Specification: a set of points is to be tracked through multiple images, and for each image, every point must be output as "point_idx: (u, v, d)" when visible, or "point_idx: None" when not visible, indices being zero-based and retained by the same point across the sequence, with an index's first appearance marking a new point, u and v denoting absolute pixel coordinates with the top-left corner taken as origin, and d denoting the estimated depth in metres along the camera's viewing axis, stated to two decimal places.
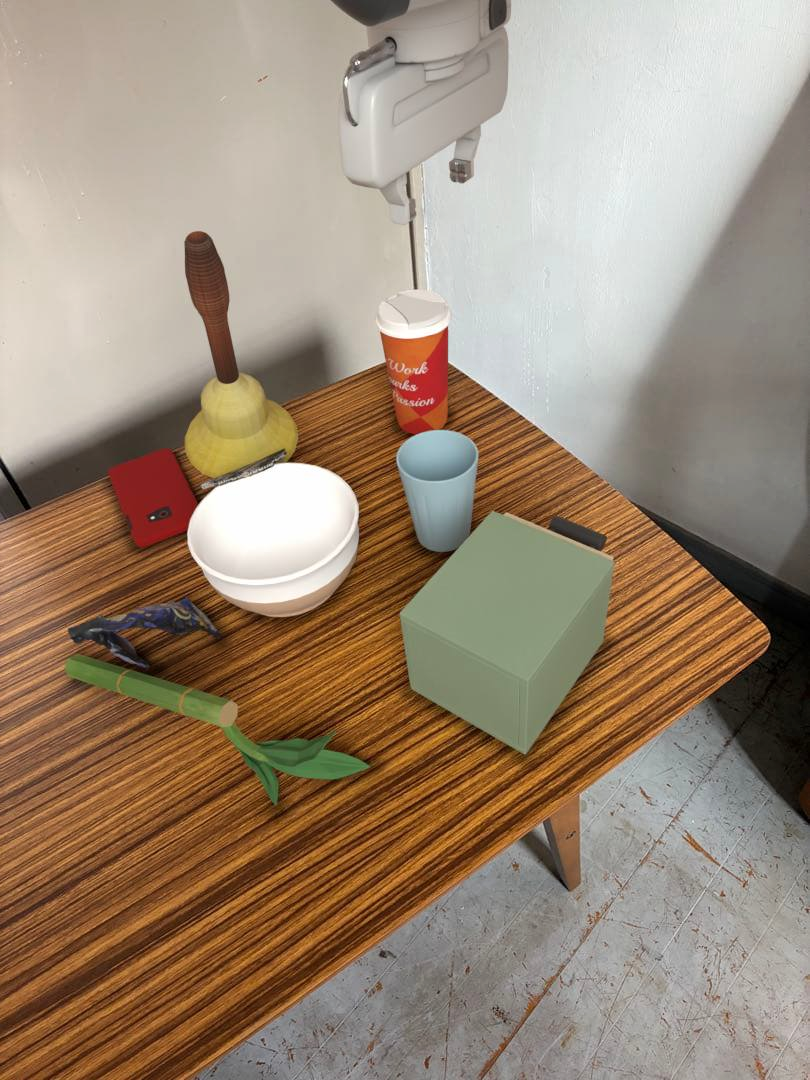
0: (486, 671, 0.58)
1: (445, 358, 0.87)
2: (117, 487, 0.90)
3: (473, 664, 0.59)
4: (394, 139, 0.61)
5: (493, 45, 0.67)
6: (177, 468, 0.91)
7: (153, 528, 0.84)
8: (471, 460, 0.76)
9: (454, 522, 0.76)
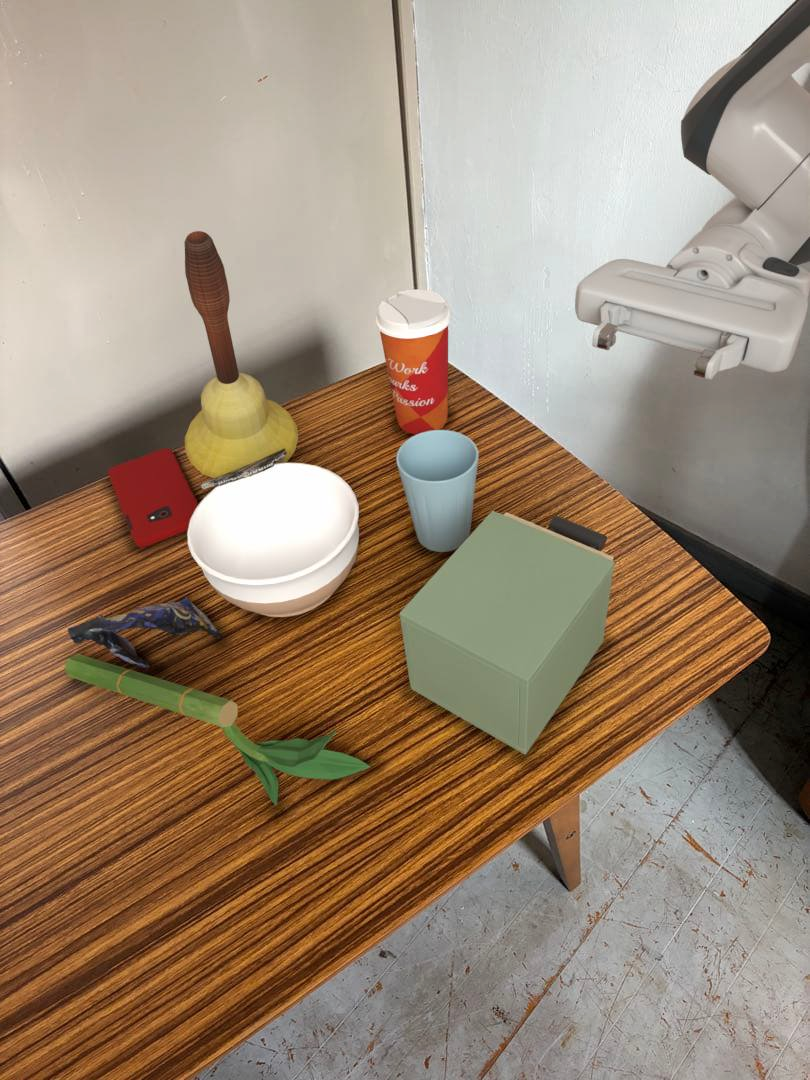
0: (486, 671, 0.58)
1: (445, 358, 0.87)
2: (117, 487, 0.90)
3: (473, 664, 0.59)
4: (615, 278, 0.75)
5: (781, 296, 0.69)
6: (177, 468, 0.91)
7: (153, 528, 0.84)
8: (471, 460, 0.76)
9: (454, 522, 0.76)
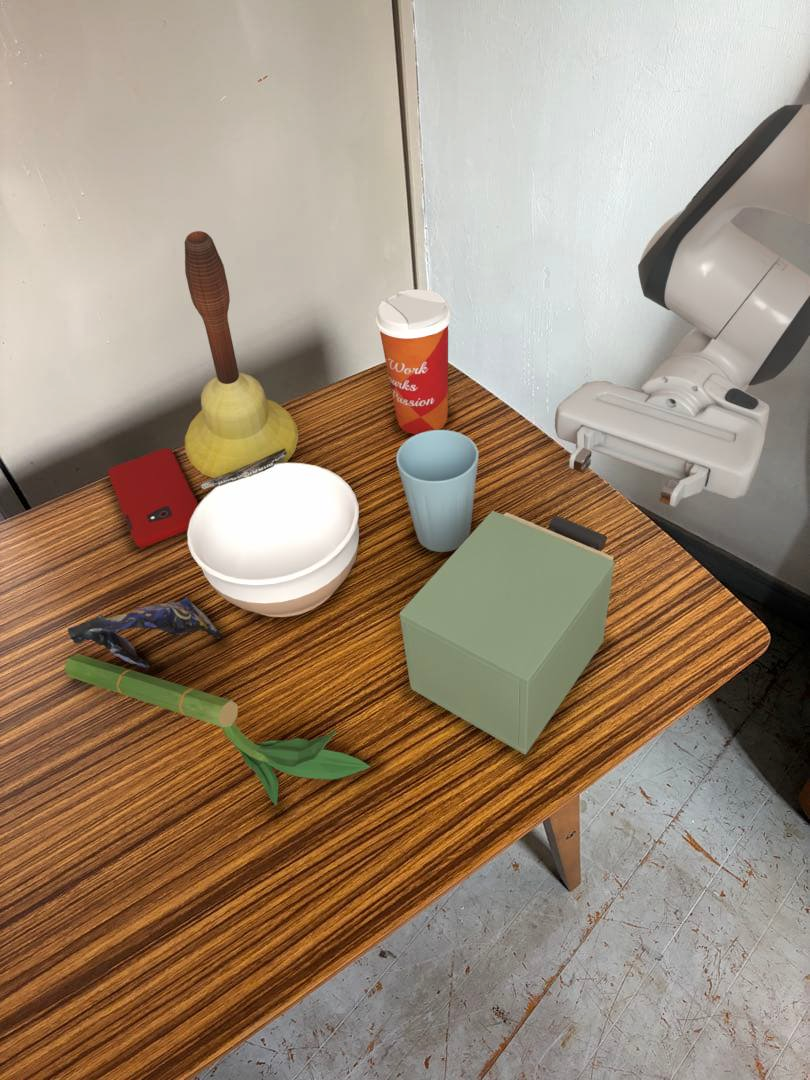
0: (486, 671, 0.58)
1: (445, 358, 0.87)
2: (117, 487, 0.90)
3: (473, 664, 0.59)
4: (591, 401, 0.82)
5: (741, 427, 0.76)
6: (177, 468, 0.91)
7: (153, 528, 0.84)
8: (471, 460, 0.76)
9: (454, 522, 0.76)
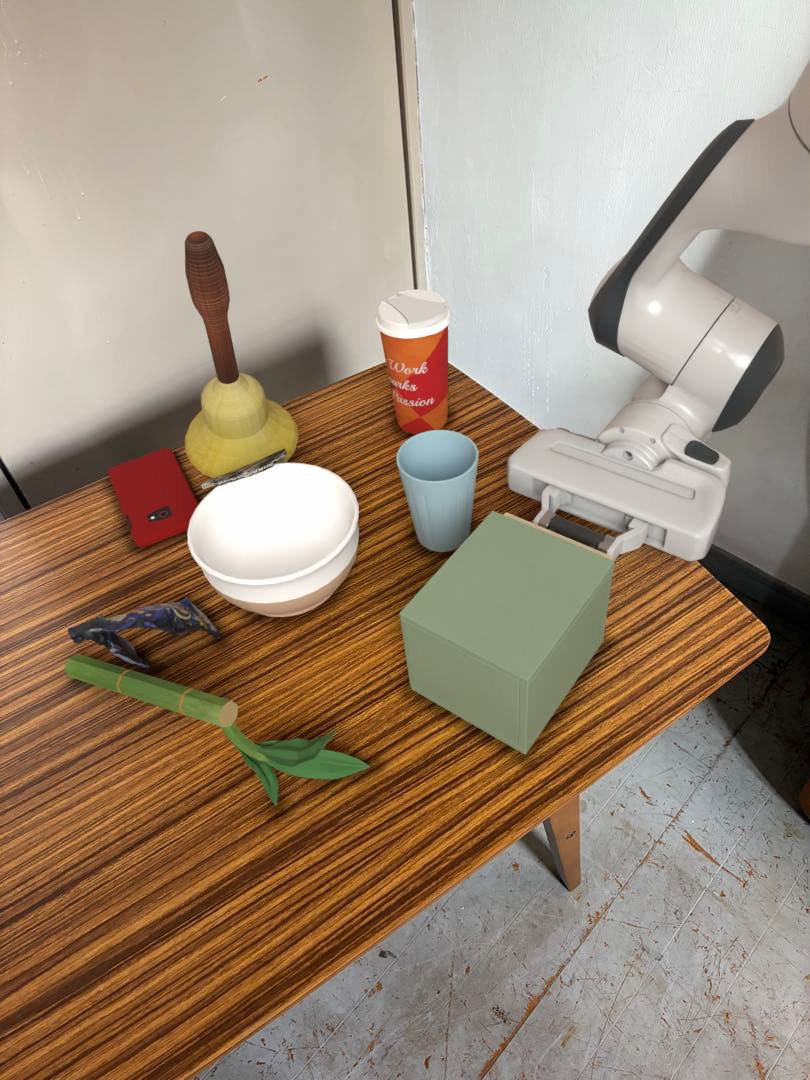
0: (486, 671, 0.58)
1: (445, 358, 0.87)
2: (117, 487, 0.90)
3: (473, 664, 0.59)
4: (544, 452, 0.77)
5: (700, 484, 0.71)
6: (177, 468, 0.91)
7: (153, 528, 0.84)
8: (471, 460, 0.76)
9: (454, 522, 0.76)
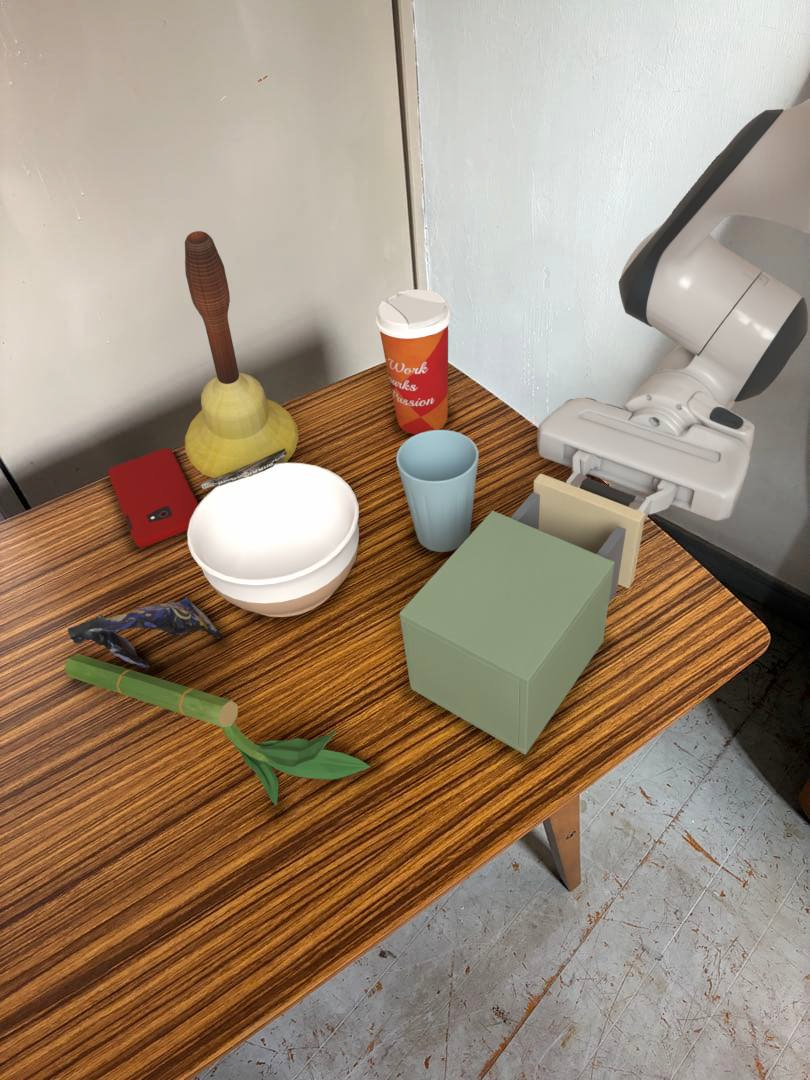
0: (486, 671, 0.58)
1: (445, 358, 0.87)
2: (117, 487, 0.90)
3: (473, 664, 0.59)
4: (574, 420, 0.80)
5: (725, 447, 0.74)
6: (177, 468, 0.91)
7: (153, 528, 0.84)
8: (471, 460, 0.76)
9: (454, 522, 0.76)
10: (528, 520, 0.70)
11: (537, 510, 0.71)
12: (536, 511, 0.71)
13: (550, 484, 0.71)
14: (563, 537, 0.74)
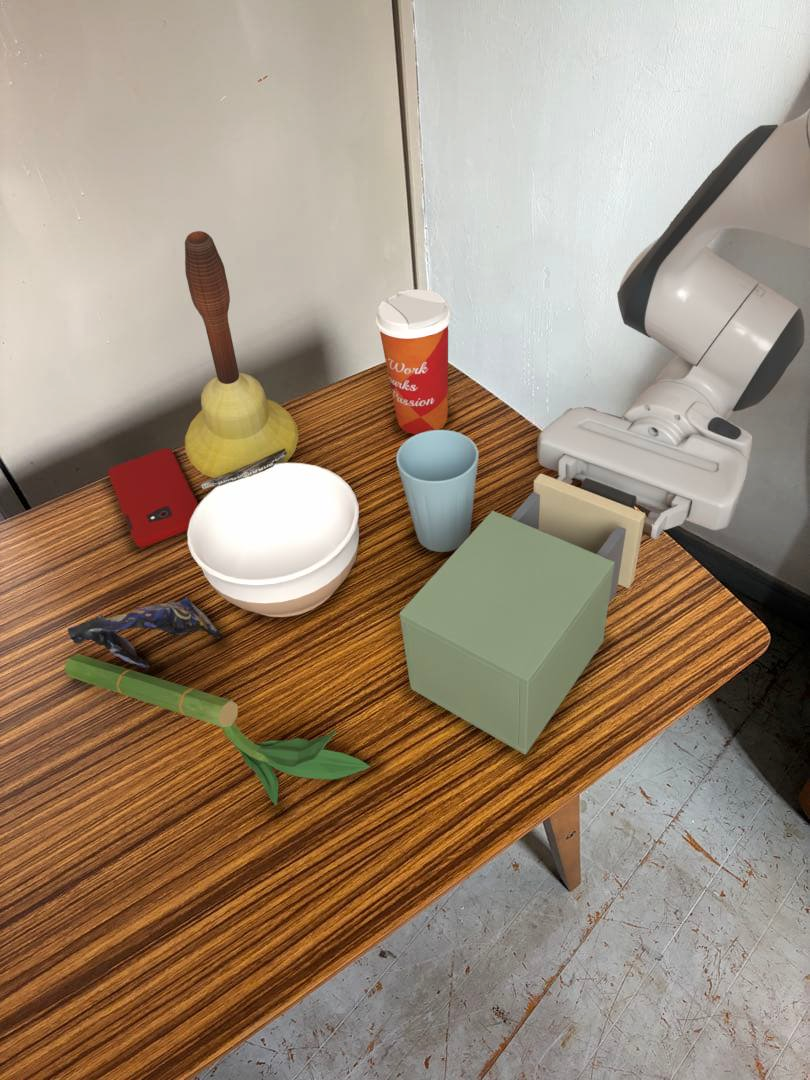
0: (486, 671, 0.58)
1: (445, 358, 0.87)
2: (117, 487, 0.90)
3: (473, 664, 0.59)
4: (573, 429, 0.81)
5: (723, 457, 0.75)
6: (177, 468, 0.91)
7: (153, 528, 0.84)
8: (471, 460, 0.76)
9: (454, 522, 0.76)
10: (528, 520, 0.70)
11: (537, 510, 0.71)
12: (536, 511, 0.71)
13: (550, 484, 0.71)
14: (563, 537, 0.74)
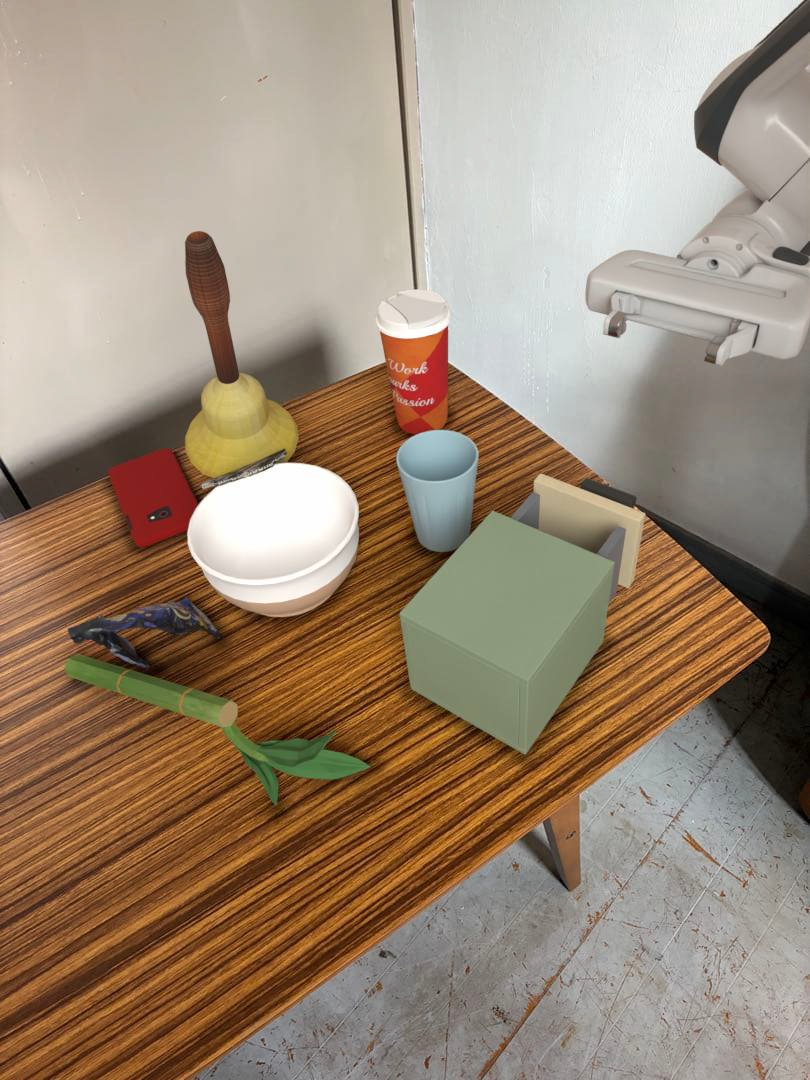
0: (486, 671, 0.58)
1: (445, 358, 0.87)
2: (117, 487, 0.90)
3: (473, 664, 0.59)
4: (625, 268, 0.75)
5: (791, 284, 0.70)
6: (177, 468, 0.91)
7: (153, 528, 0.84)
8: (471, 460, 0.76)
9: (454, 522, 0.76)
10: (528, 520, 0.70)
11: (537, 510, 0.71)
12: (536, 511, 0.71)
13: (550, 484, 0.71)
14: (563, 537, 0.74)
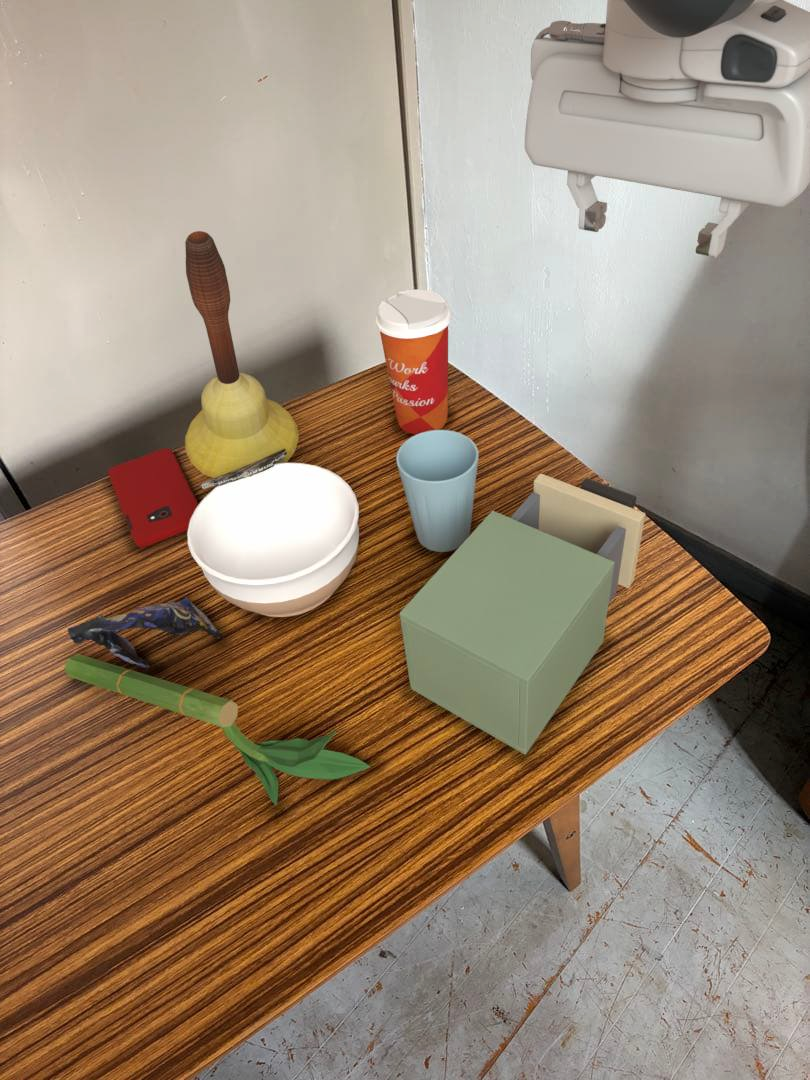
0: (486, 671, 0.58)
1: (445, 358, 0.87)
2: (117, 487, 0.90)
3: (473, 664, 0.59)
4: (556, 125, 0.57)
5: (765, 108, 0.48)
6: (177, 468, 0.91)
7: (153, 528, 0.84)
8: (471, 460, 0.76)
9: (454, 522, 0.76)
10: (528, 520, 0.70)
11: (537, 510, 0.71)
12: (536, 511, 0.71)
13: (550, 484, 0.71)
14: (563, 537, 0.74)
